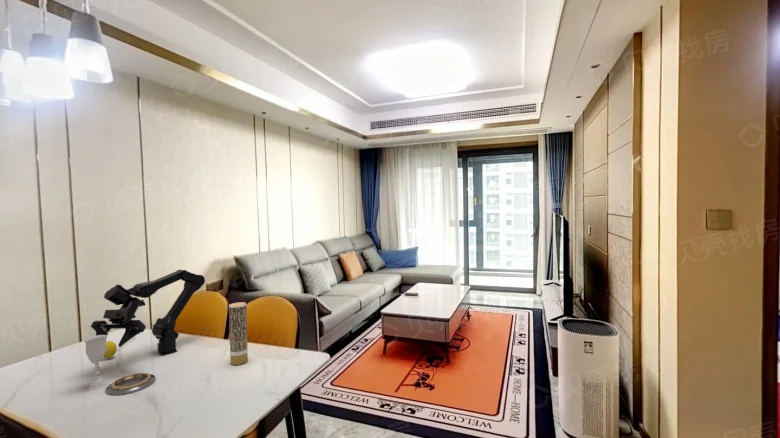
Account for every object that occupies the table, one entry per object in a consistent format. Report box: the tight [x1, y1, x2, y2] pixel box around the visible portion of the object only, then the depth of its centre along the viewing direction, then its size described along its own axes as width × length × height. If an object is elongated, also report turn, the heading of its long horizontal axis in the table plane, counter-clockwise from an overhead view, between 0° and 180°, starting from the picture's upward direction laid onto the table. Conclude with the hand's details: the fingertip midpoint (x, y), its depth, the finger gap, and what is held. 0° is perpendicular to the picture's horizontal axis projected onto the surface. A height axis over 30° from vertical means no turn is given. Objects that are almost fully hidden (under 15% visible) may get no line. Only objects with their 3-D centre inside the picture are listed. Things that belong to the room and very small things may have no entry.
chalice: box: [83, 335, 108, 390], centre depth 131 cm, size 7×7×18 cm
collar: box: [105, 372, 157, 396], centre depth 131 cm, size 15×15×2 cm
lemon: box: [103, 340, 118, 360], centre depth 156 cm, size 6×6×8 cm
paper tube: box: [228, 301, 249, 366], centre depth 150 cm, size 7×7×25 cm
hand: (107, 346), depth 136 cm, fingers open, 9 cm apart
